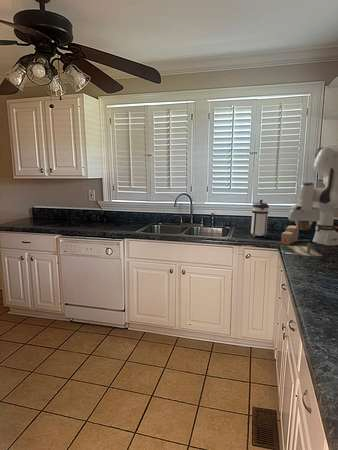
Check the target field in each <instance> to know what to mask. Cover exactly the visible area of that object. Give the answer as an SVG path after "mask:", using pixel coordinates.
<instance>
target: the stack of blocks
mask: <svg viewBox="0 0 338 450" xmlns="http://www.w3.org/2000/svg"><path fill="white" fill-rule="evenodd" d="M299 233H300V231H299V229H297V227H296V225H288V226H286V227H285V231H284V232H282V233H281V237H280V244H284V245H287V246H290V245H291V244H293V243H295V242H298V241H299Z"/></svg>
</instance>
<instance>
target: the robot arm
mask: <svg viewBox="0 0 338 450" xmlns="http://www.w3.org/2000/svg"><path fill="white" fill-rule="evenodd" d="M314 158H315V159H314V162H313V171H314V172H315V173H317V175H320V176H322V177H323V178H322V183H323V185H324V186H325V187H315V183H313V182H303V183H302V184H301V185H300V189H299V200H298V203H297V204H292V205H291V206H290V210H289V211H288V217H287V218H288V220H289V221H291V222H294V223H295V226H296V227H299V225H298V223H297V222H308V224H310V227H309V229H310V228H311V225H312V224H313V222H316V224H315V230H314V231H315V232H314V235H313V239H312V243H316V244H319V245H325V246H338V231H336V230H337V229H338V226H337V225H334V219H335V215H334V213H333V212H332V211H330V210H328V208H327V207H329V208H330V207H331V208H338V145H336V146H335V145H334V146H325V147H324V146H322V147H319V148H318V149H316V151H315V153H314Z"/></svg>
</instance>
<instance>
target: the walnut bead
mask: <svg viewBox="0 0 338 450" xmlns="http://www.w3.org/2000/svg"><path fill="white" fill-rule="evenodd" d="M297 223H298V225H299V227H297V229H299V230H300V231H310V228H311V225H310V224H309V222H302V221H298V222H297ZM309 227H310V228H309Z"/></svg>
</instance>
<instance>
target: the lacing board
mask: <svg viewBox="0 0 338 450" xmlns="http://www.w3.org/2000/svg"><path fill="white" fill-rule="evenodd" d="M311 247H312V243H311V242H307V245H287V248H289V249H290V250H293V251H294V252H295V253H296V254H298V255H299V258H305V259H324V255H323V254H321V253H319V252H317V251H316V250H314V249H313V248H311Z"/></svg>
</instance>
